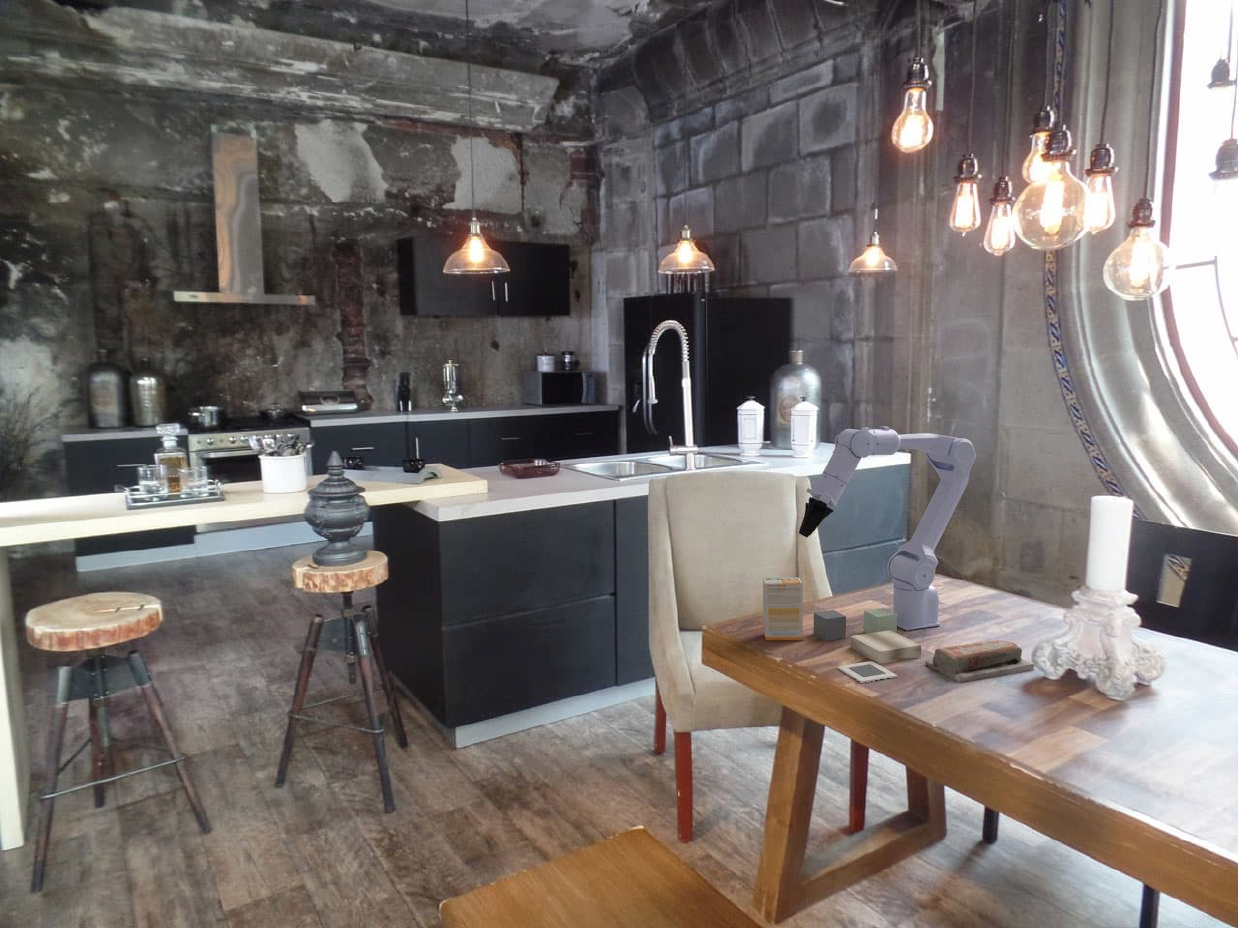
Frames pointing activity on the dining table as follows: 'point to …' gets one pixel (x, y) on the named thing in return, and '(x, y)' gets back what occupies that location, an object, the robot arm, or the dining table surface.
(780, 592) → the supplement box
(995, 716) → the dining table surface
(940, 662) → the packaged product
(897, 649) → the birch base block
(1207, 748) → the dining table surface
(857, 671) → the tile
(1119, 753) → the dining table surface
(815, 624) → the charcoal block
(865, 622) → the sage block
